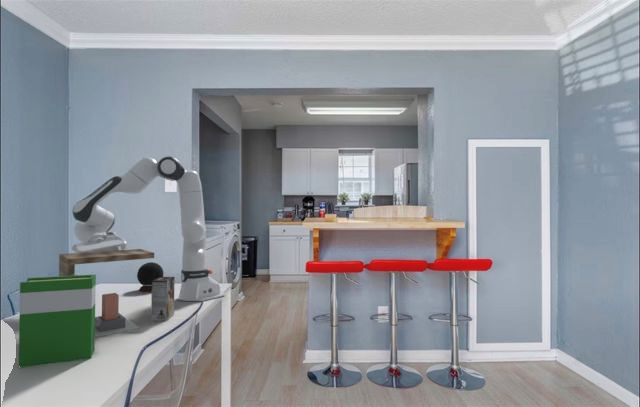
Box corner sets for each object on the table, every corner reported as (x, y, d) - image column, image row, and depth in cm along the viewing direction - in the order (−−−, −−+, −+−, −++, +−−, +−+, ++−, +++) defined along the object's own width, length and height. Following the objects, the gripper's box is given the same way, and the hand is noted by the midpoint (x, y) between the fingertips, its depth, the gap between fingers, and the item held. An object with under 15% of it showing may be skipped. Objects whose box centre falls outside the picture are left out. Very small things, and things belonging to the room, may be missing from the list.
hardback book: (18, 367, 108) (20, 282, 108) (26, 358, 115) (28, 277, 115) (90, 358, 115) (92, 278, 115) (94, 350, 122) (95, 274, 122)
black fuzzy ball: (132, 290, 207) (132, 262, 207) (155, 286, 217) (155, 260, 217) (144, 293, 199) (145, 265, 199) (168, 289, 209) (168, 262, 209)
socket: (126, 319, 154) (126, 309, 154) (139, 328, 143) (139, 318, 143) (80, 327, 143) (80, 316, 143) (90, 338, 132) (90, 326, 132)
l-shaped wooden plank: (139, 316, 158) (140, 249, 158) (153, 326, 146) (154, 252, 146) (57, 331, 139) (59, 254, 139) (66, 343, 127) (67, 258, 127)
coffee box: (159, 314, 162) (159, 276, 162) (174, 314, 162) (175, 276, 162) (150, 321, 152) (151, 280, 153) (167, 320, 153) (167, 280, 153)
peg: (114, 324, 146) (115, 292, 146) (118, 327, 143) (118, 294, 143) (101, 326, 143) (102, 294, 143) (104, 329, 140) (105, 296, 140)
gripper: (69, 239, 165) (82, 254, 158) (118, 231, 181) (132, 244, 173) (69, 252, 167) (82, 267, 160) (118, 243, 183) (131, 256, 175)
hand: (108, 255), depth 167 cm, fingers open, 8 cm apart
